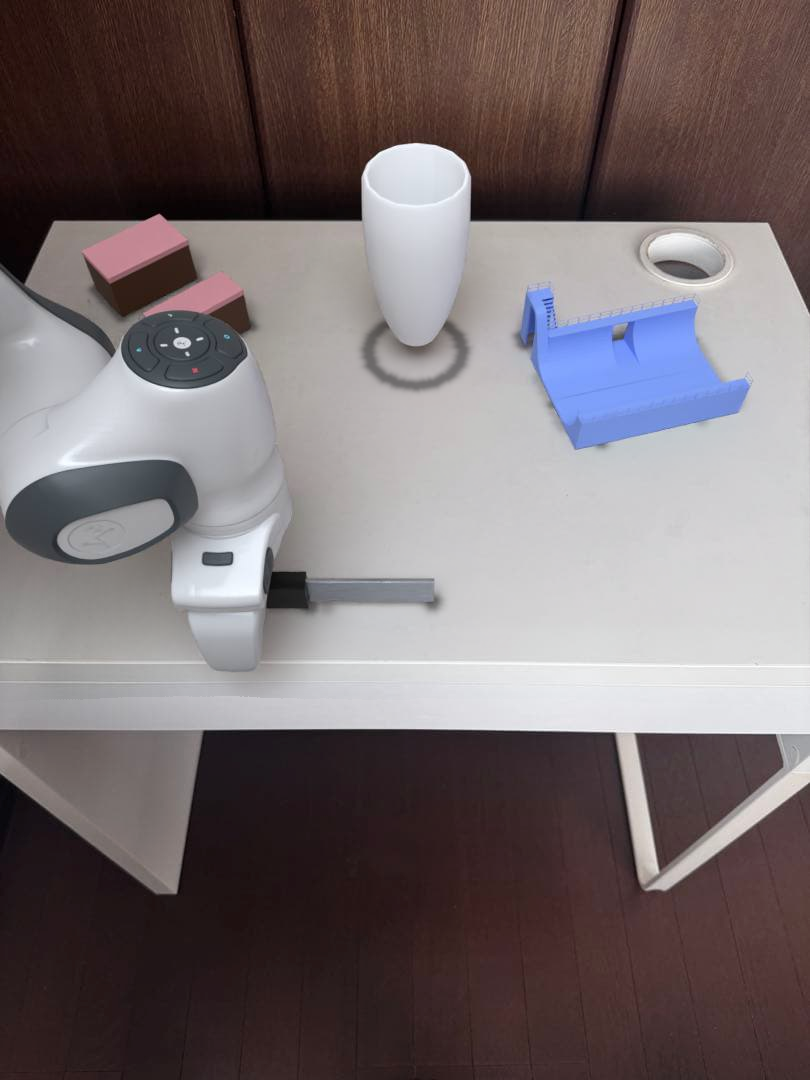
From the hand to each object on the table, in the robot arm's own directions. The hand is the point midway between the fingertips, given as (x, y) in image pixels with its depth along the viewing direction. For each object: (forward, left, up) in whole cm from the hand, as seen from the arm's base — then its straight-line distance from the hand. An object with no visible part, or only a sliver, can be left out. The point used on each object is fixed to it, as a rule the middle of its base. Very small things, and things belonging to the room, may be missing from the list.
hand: (258, 591), depth 76 cm
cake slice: (+14, +32, -3) cm, 35 cm away
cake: (+14, +44, -3) cm, 46 cm away
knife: (+4, -4, -1) cm, 6 cm away
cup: (+31, +15, -3) cm, 35 cm away
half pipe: (+46, -2, -3) cm, 46 cm away
